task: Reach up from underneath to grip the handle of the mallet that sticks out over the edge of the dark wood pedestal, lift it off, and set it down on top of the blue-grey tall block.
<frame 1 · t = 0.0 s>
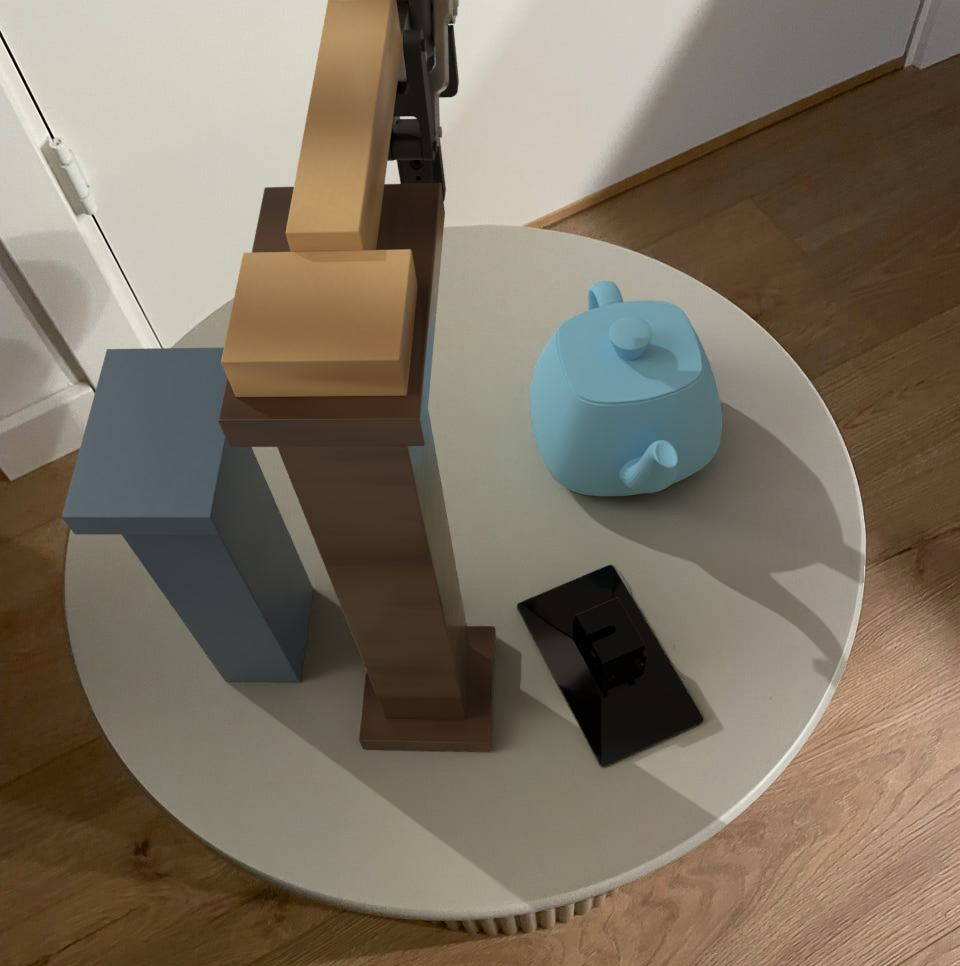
hand: (432, 145, 56), 22 cm above the table, tool pointing down, fingers open, 8 cm apart
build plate: (606, 663, 66), on the table
teapot: (625, 452, 73), on the table
dark wood pedestal: (432, 666, 66), on the table
mallet: (378, 1, 45), point 32 cm above the table, touching dark wood pedestal
blue-grey tall block: (269, 634, 68), on the table
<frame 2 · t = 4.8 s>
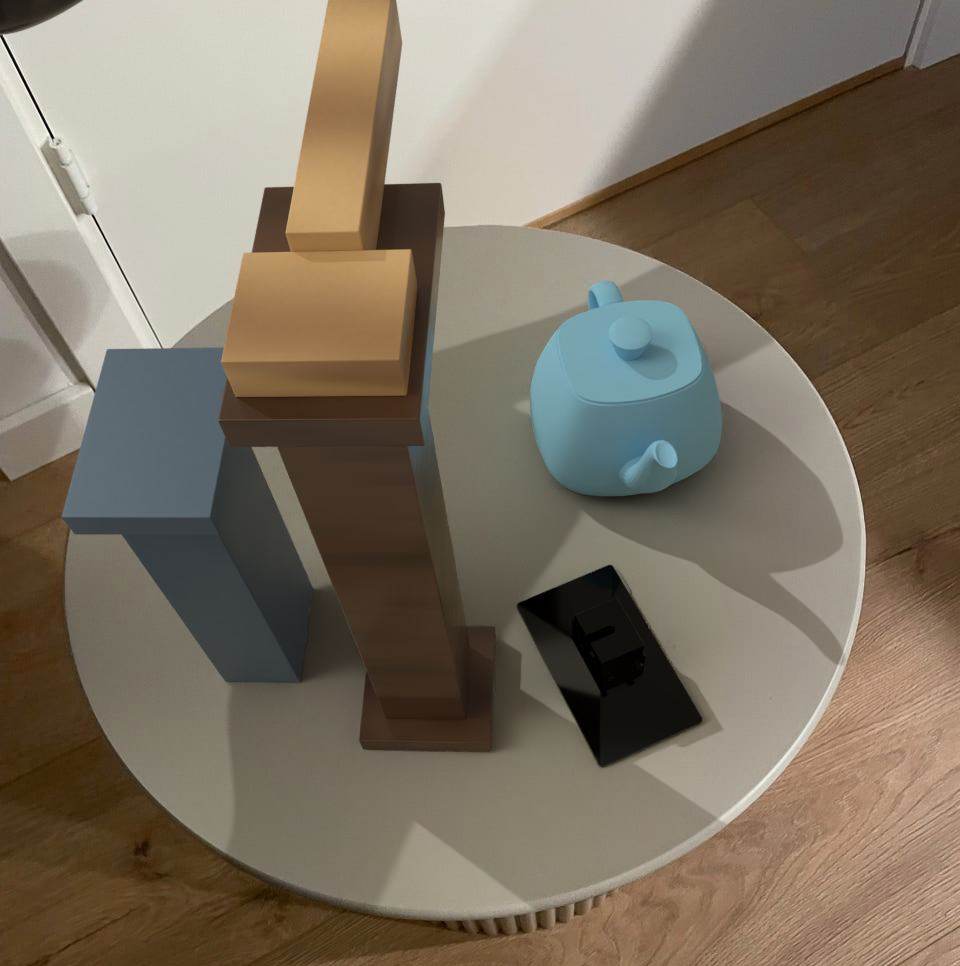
nothing on the table moved.
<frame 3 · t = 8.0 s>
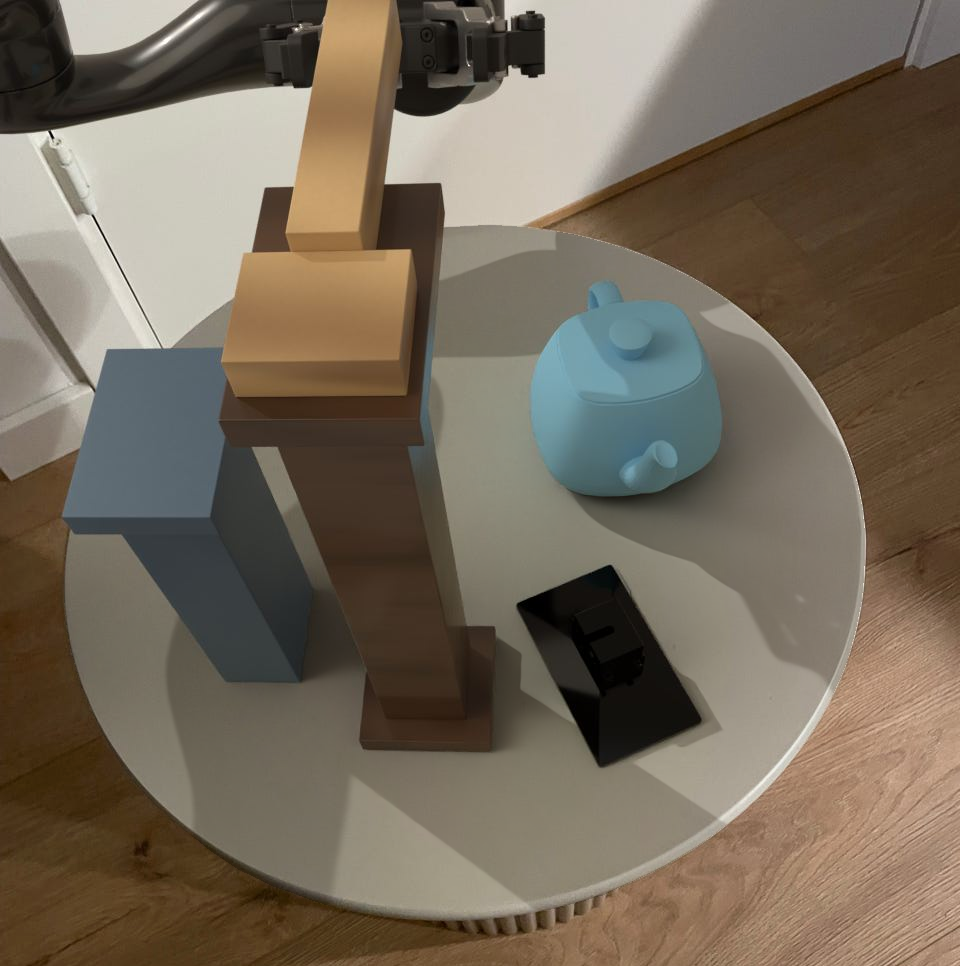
hand: (387, 59, 47), 29 cm above the table, tool pointing upward, fingers open, 8 cm apart
nothing on the table moved.
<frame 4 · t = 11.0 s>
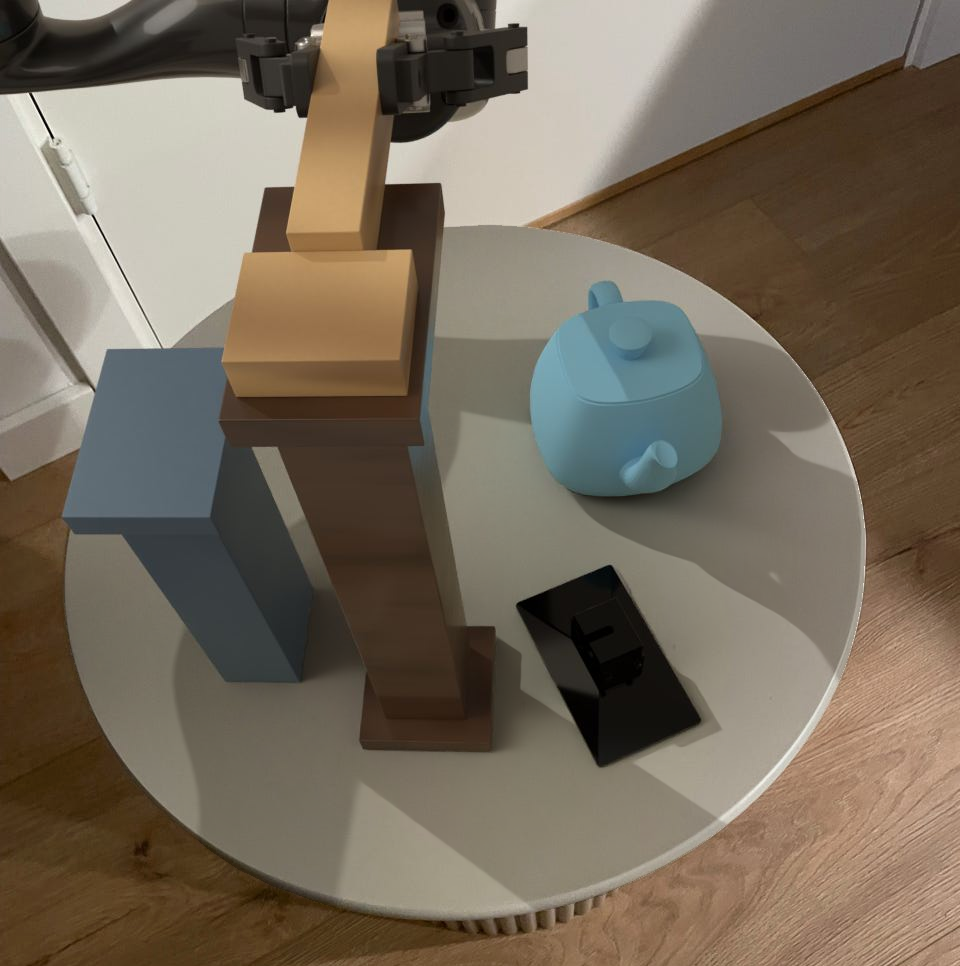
hand: (344, 85, 39), 35 cm above the table, tool pointing upward, fingers closed on mallet, 2 cm apart
mallet: (379, 1, 45), point 32 cm above the table, touching gripper, dark wood pedestal
everything else where it was.
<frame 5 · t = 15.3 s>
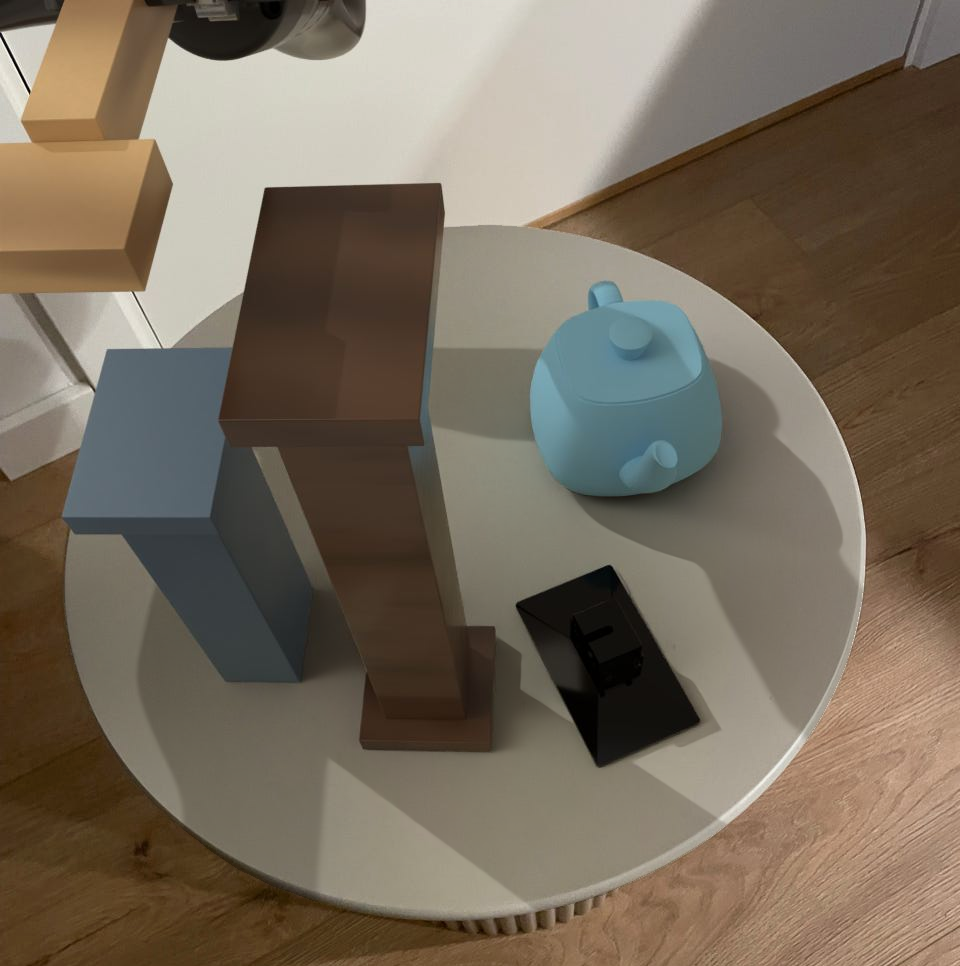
when the fingers open (24 cm above the table, at t = 19.7 s): mallet stays where it is, resting on blue-grey tall block.
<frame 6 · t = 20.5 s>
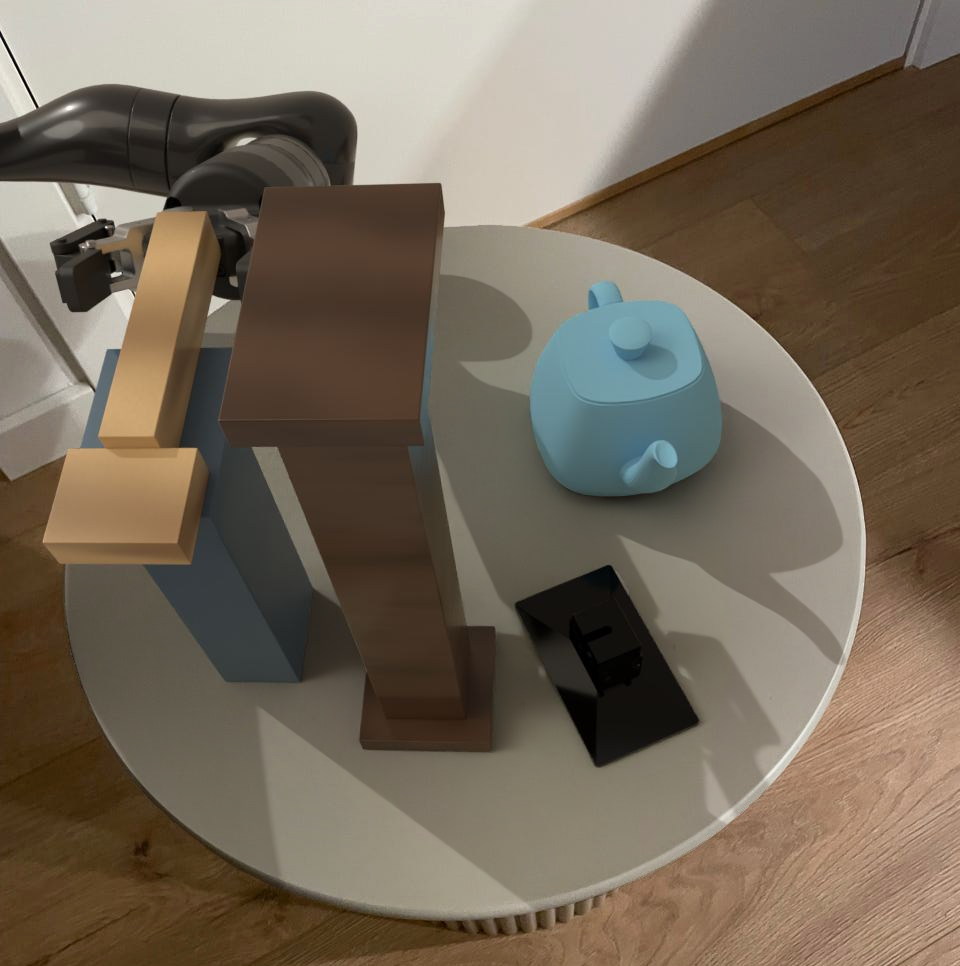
hand: (156, 289, 49), 24 cm above the table, tool pointing upward, fingers open, 8 cm apart
mallet: (207, 211, 55), point 21 cm above the table, touching blue-grey tall block
everything else where it was.
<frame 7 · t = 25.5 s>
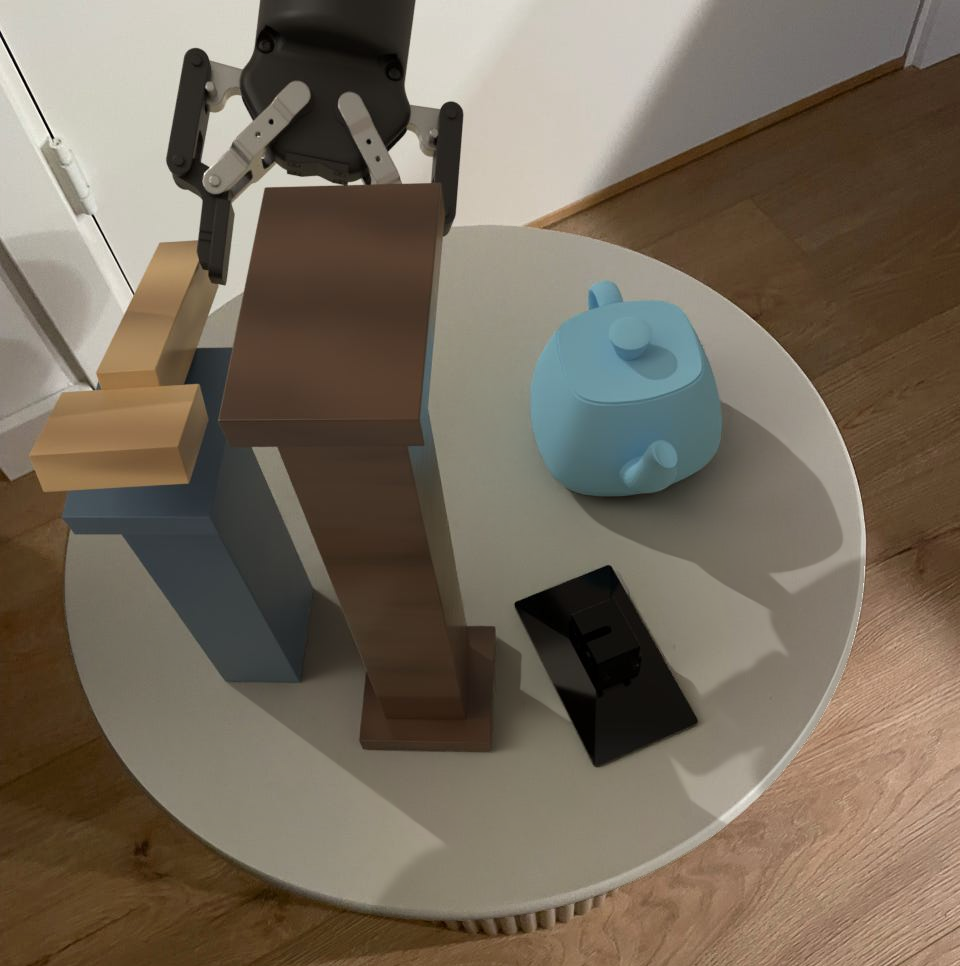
hand: (301, 296, 53), 21 cm above the table, tool tilted 60°, fingers open, 8 cm apart
mallet: (204, 265, 58), point 18 cm above the table, tilted 20°
everything else where it was.
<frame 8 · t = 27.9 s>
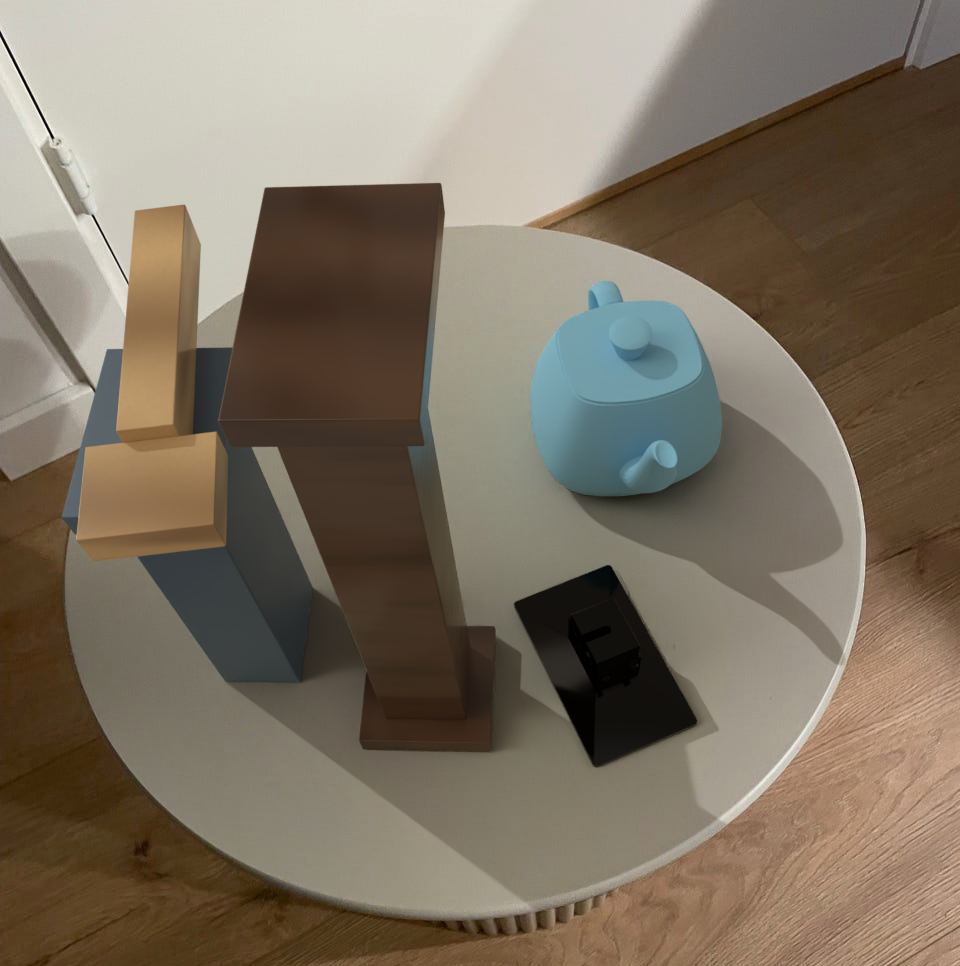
mallet: (179, 207, 56), point 21 cm above the table, touching blue-grey tall block
everything else where it was.
at the end: mallet 1.6 cm from the target spot on the blue-grey tall block, point 21.5 cm above the blue-grey tall block's base; mallet tilted 0°; the gripper is holding nothing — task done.
